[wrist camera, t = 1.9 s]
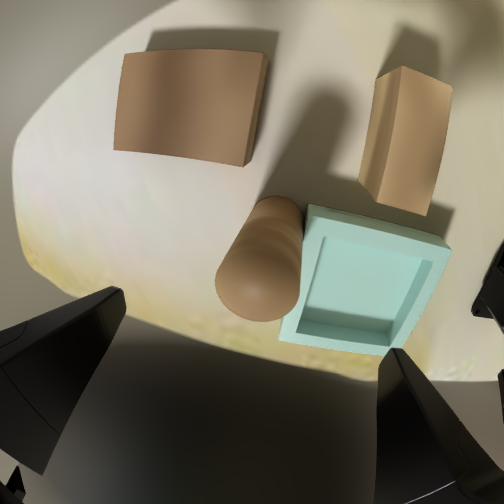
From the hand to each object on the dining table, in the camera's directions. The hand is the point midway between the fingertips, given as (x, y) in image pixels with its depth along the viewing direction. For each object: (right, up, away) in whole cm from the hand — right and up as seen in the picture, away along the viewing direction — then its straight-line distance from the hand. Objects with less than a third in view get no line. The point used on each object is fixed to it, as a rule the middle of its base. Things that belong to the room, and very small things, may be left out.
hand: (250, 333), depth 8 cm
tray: (+7, 0, +9) cm, 11 cm away
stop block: (+8, +9, +4) cm, 12 cm away
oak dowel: (+2, +4, +8) cm, 9 cm away
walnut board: (-3, +11, +6) cm, 13 cm away
